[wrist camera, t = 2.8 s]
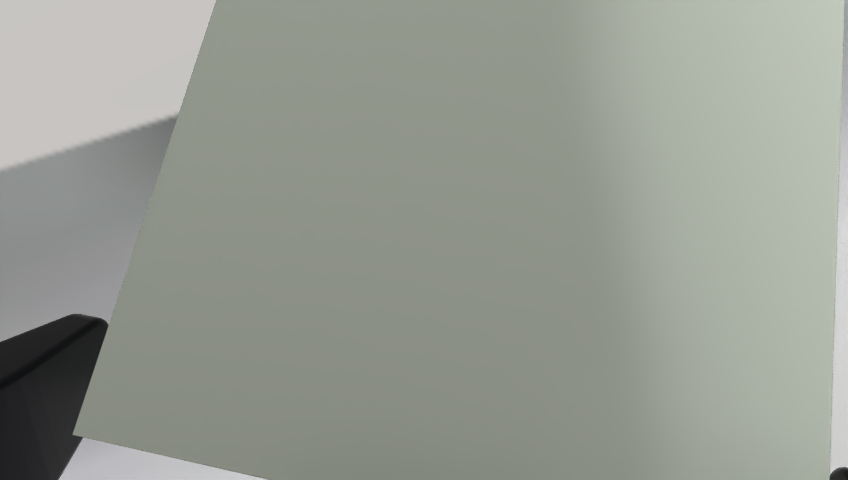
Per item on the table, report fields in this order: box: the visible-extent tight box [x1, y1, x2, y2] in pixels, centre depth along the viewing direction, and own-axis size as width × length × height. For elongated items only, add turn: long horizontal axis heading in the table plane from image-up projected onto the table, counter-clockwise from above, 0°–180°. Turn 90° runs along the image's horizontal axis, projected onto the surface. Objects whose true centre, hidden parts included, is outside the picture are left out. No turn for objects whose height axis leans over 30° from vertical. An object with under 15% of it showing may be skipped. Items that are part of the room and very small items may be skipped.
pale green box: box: [73, 0, 844, 480], centre depth 11 cm, size 6×6×12 cm
